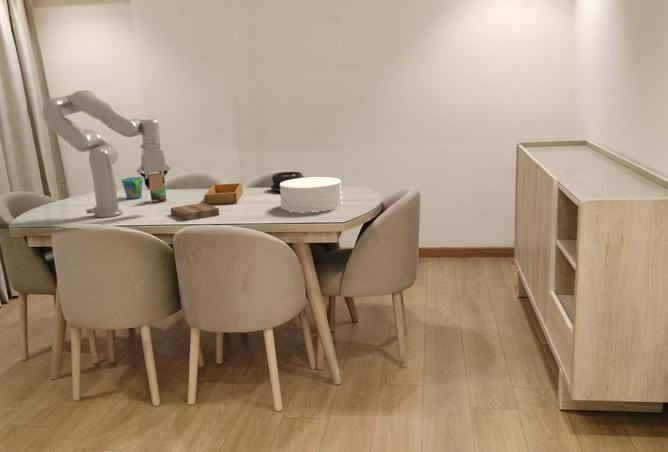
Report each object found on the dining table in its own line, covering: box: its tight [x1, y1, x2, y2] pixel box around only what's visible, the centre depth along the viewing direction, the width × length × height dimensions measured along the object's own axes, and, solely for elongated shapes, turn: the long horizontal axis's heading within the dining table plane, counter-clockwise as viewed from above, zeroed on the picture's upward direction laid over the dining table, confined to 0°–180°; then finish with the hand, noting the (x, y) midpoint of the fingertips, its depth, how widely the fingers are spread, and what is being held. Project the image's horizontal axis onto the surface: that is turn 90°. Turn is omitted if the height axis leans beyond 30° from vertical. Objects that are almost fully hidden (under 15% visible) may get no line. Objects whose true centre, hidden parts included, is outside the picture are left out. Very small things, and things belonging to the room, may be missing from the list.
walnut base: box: [170, 202, 220, 221], centre depth 313 cm, size 16×18×3 cm
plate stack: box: [279, 176, 343, 212], centre depth 317 cm, size 28×28×12 cm
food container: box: [149, 179, 168, 204], centre depth 348 cm, size 12×6×10 cm, turn 168°
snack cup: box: [121, 176, 144, 200], centre depth 361 cm, size 16×10×10 cm
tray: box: [204, 182, 244, 206], centre depth 348 cm, size 31×15×6 cm, turn 2°
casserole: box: [270, 171, 305, 192], centre depth 364 cm, size 25×19×8 cm
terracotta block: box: [146, 172, 164, 192], centre depth 318 cm, size 6×6×7 cm
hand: (154, 185), depth 319 cm, fingers closed on terracotta block, 6 cm apart
